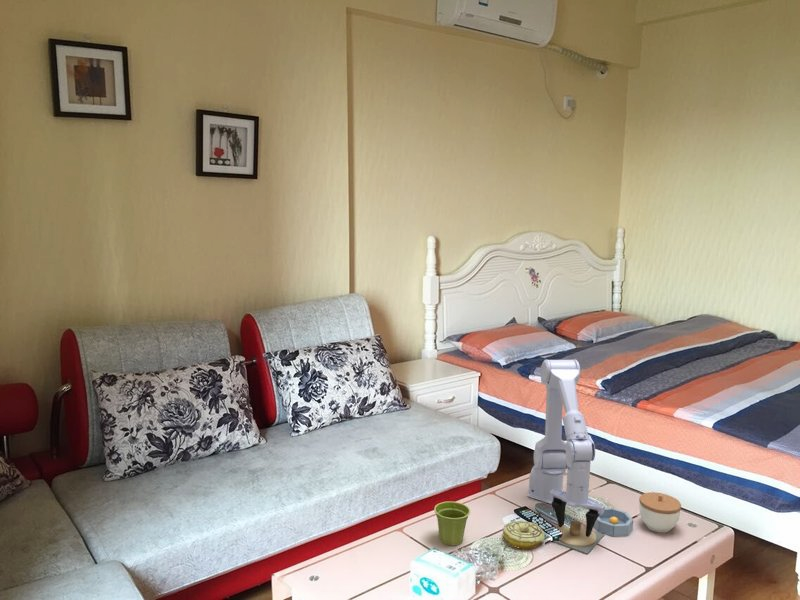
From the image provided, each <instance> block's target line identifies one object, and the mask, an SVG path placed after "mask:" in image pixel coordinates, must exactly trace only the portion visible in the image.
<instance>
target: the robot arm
mask: <svg viewBox="0 0 800 600" xmlns="http://www.w3.org/2000/svg"><path fill="white" fill-rule="evenodd" d="M540 368H541V371H540V381H541V384H542V385H544V386H545V387H546V395H545V396H546V397H545V398H546V401H545V425H544V426H545V427H544V437H543V438H541V439H540V440H538V441H537V442H536V443H535V446H534V451H533V464H534V465H533V466H532V468H531V471H530V474H529V479H528V480H529V482H528V483H529V484H528V494H527V497H528V498H532V499H534V500H538V501H540V502H542V503H543V502H544V503H547V504H549V505H551V507H552V509H553V510H554V512H555V516H556V520H557V525H559V527H562V526H563V525H564V521H566V519H565V518H566V516H565V515H566V508H567V507H566V506H569V507H572V508H575V507H580V508H583V509H586V510H588V511H587V512H586V513H585V518H586V522H585V523H586V525H585V526H586V536H587V537H589V536H590V535H591V532H592V530H594V524H595V522H596V520H597V518H598V516H599V515H602V514H603V513H604V510H605V508H606V506H605V505H606V504H602V503H600V502H598V501H595V500H594V499H592V498H590V497H589V492H590V491H589V488H590V477H591V476H590V475H591V465H592V464H591V462H593V461H594V460H595V458H596V446H595V442H594V440H593V439H592V436H591V435H590V434H589V432H588V428H587V427H588V426H587V423H586V419H585V418H586V417H585V415H584V414H583V413H581V412H580V409H579V402H578V401H579V400H578V395H577V394H578V393H577V385H578V383H579V379H580V376H581V365H580V363H579V361H578V360H577V359H575V358H574V359H573V358H572V359H544V360H543V362H542V364H541V367H540ZM563 410H564V412H565V414H564V416H563ZM563 427H564V432H565V438H566V439H565V440H566V441H564V440H563V439H562V438H563V437H562V435H563V433H562V432H563ZM566 470H567V473H566ZM564 473H566V475H567V476H566V489H565V491H564V490H563V483H564Z"/></svg>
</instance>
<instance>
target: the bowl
mask: <svg viewBox="0 0 800 600" xmlns="http://www.w3.org/2000/svg"><path fill="white" fill-rule="evenodd" d="M593 528H595V530H596V531H597V532H600V533H602V534H604V535H606V536H607V535H608V536H611V537H627V536H629V534H631V532H632V531H633V529H634V518H633V517H632V516H631V515H630V514H629V513H628V512H627V511H624V510H620V509H617V508H616V507H615V508H614V507H605V510H604V513H603V514H602V515H599V516H598V518H597V520H596V522H595V524H594V526H593Z"/></svg>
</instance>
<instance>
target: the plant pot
mask: <svg viewBox="0 0 800 600" xmlns="http://www.w3.org/2000/svg"><path fill="white" fill-rule="evenodd" d="M433 511H434V513H435V516H436V520H437V525H438V526H437V527H438V534H439V536H438V537H439V541H440V542H441V543H442V544H444V545H447V546H455V545H456V546H459V545H461V544H462V543H463V540H464V535H465V529H466V525H467V520H468V518H469V516H470V515H471V509H470V508H469V506H467V505H466V504H465V503H463V502H462V503H461V502H457V501H443V502H440V503H437V504H436V505H435V506H434V510H433Z"/></svg>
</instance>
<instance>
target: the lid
mask: <svg viewBox="0 0 800 600" xmlns="http://www.w3.org/2000/svg"><path fill="white" fill-rule="evenodd" d="M569 522H570V528H569V527H567V526H566V525H563V526H562V527H559V525H558V524H557V525H558V526H557V525H556V526H555V527H556V528H558V529H559V530H560V531H561V532H562V533H563V536H562V537H561V538H559V541H561V542H563V543H565V544H568V545H571V546H578V547H583V546H589V545H592V544H593V543H594V542H595V541H596V534H595V533H594V531H595V530H594V531H592V532H591V535H590V536H589V537H587V536H586V525H583V524H582V523H581V522H580V521H578V520H571V521H569ZM581 526H582V527H581Z"/></svg>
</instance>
